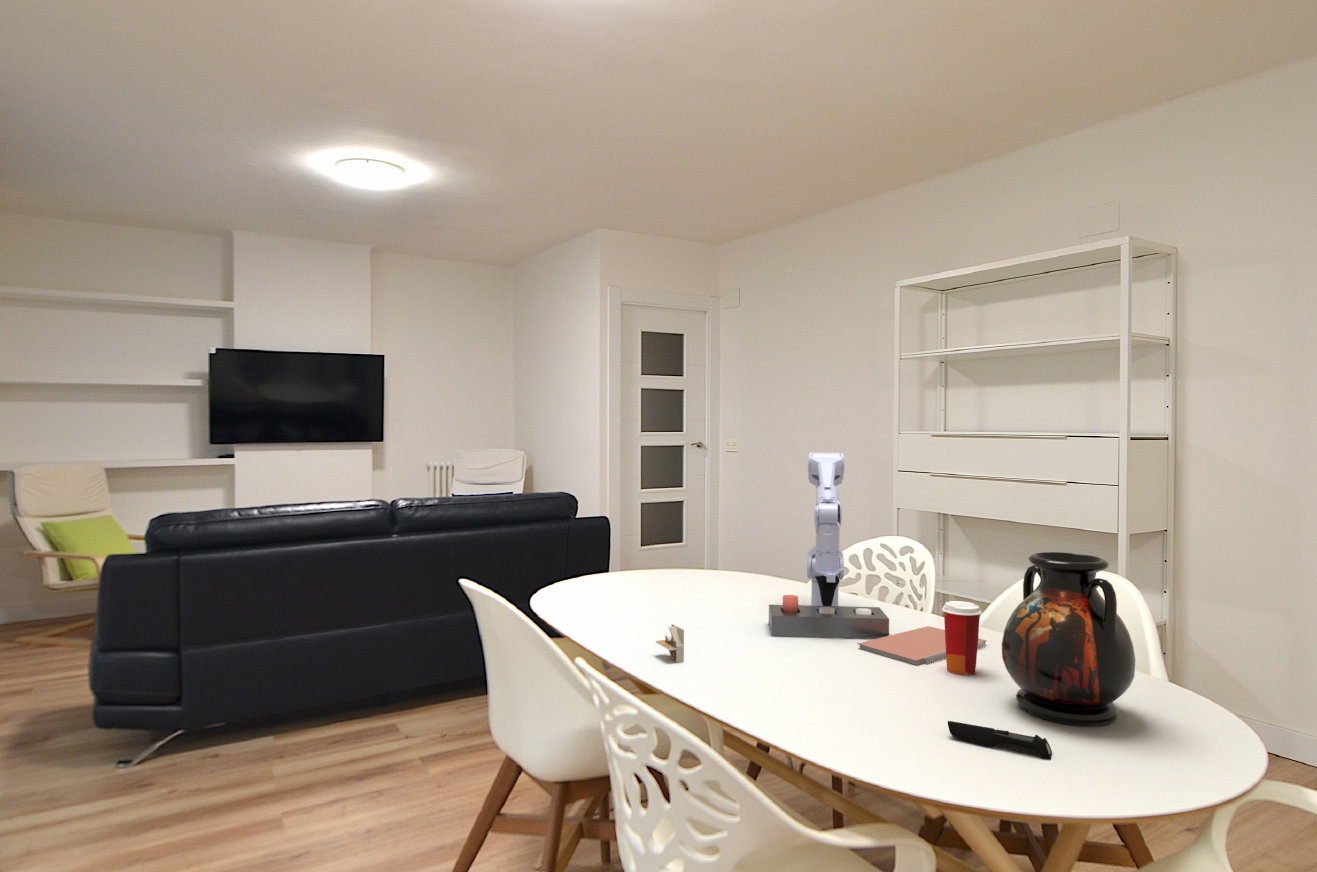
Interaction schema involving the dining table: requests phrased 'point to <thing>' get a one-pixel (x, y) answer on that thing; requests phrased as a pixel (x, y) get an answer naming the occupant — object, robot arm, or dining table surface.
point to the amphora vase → (1068, 642)
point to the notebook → (912, 645)
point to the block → (828, 623)
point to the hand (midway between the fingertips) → (826, 605)
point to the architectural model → (674, 643)
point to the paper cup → (961, 636)
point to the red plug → (790, 604)
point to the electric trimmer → (1001, 739)
